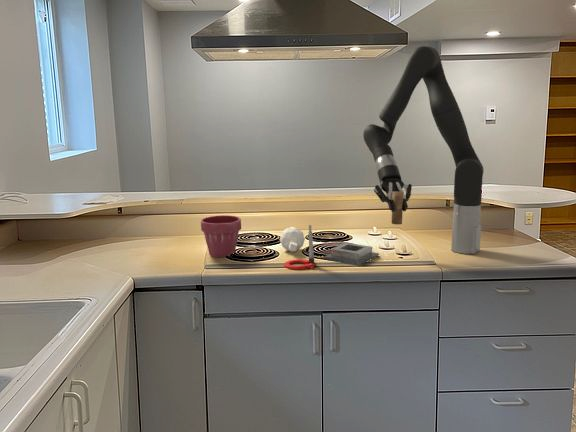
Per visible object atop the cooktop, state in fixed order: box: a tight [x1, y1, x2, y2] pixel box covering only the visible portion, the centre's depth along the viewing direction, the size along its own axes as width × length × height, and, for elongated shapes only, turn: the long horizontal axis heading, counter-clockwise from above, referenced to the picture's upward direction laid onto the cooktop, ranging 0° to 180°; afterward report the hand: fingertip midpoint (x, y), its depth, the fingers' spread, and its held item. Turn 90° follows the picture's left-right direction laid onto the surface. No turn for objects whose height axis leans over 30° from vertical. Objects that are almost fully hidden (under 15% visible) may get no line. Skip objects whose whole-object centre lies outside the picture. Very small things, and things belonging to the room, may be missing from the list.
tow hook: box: [283, 224, 315, 270], centre depth 186 cm, size 9×14×10 cm
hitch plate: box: [323, 242, 380, 266], centre depth 196 cm, size 14×14×4 cm
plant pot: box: [200, 214, 242, 258], centre depth 201 cm, size 14×14×13 cm
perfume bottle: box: [279, 226, 306, 253], centre depth 204 cm, size 9×9×12 cm
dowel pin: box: [391, 191, 404, 226], centre depth 195 cm, size 4×4×11 cm
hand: (399, 210), depth 193 cm, fingers closed on dowel pin, 3 cm apart
